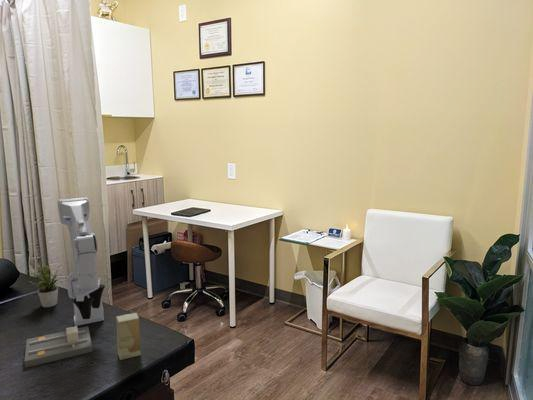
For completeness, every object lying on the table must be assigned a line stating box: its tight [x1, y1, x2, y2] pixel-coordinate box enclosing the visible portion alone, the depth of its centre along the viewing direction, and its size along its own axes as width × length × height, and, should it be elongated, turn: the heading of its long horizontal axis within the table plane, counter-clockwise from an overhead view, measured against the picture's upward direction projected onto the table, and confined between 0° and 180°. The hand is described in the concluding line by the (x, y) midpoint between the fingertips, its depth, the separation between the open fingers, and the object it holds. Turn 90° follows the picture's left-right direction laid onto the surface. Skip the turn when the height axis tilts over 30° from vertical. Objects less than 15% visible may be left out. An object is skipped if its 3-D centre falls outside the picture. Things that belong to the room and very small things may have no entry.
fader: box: [65, 325, 79, 343], centre depth 130 cm, size 3×4×3 cm
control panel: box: [24, 325, 93, 369], centre depth 128 cm, size 18×14×3 cm
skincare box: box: [115, 312, 142, 361], centre depth 124 cm, size 6×4×12 cm
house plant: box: [27, 264, 64, 308], centre depth 159 cm, size 14×14×16 cm
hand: (91, 313), depth 132 cm, fingers open, 7 cm apart
